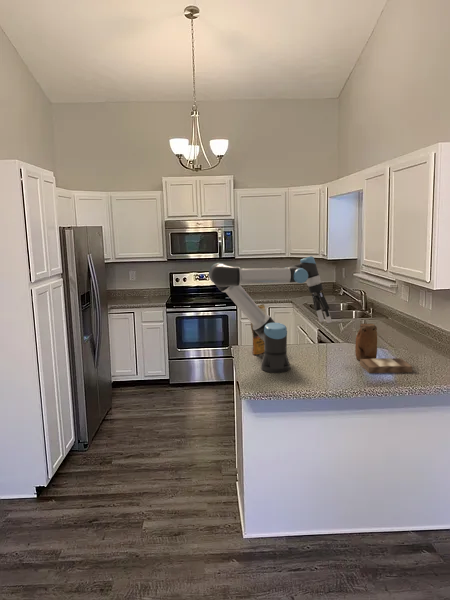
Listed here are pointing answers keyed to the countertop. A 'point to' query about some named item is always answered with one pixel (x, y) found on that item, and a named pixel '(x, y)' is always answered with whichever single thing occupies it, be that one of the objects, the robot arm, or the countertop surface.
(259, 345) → the pancake mix bag
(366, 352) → the catalogued terracotta fragment
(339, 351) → the countertop surface
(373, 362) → the plinth
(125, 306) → the countertop surface
